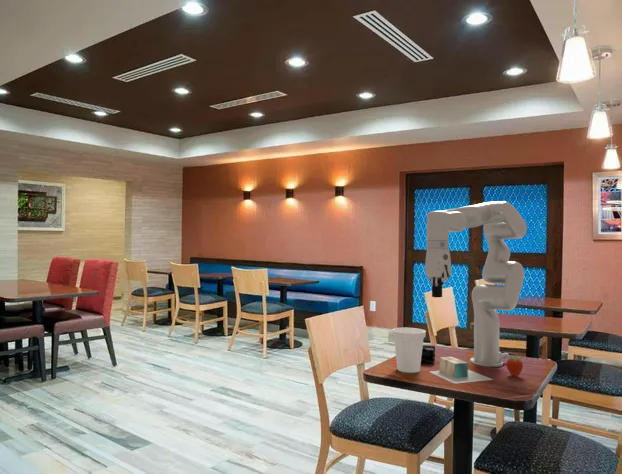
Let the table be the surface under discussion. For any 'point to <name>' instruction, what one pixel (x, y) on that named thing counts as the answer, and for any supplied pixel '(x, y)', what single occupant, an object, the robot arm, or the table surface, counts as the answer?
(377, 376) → the table surface
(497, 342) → the robot arm
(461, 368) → the beech block
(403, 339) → the cup
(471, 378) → the mat
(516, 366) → the fruit
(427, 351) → the black box
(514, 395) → the table surface
